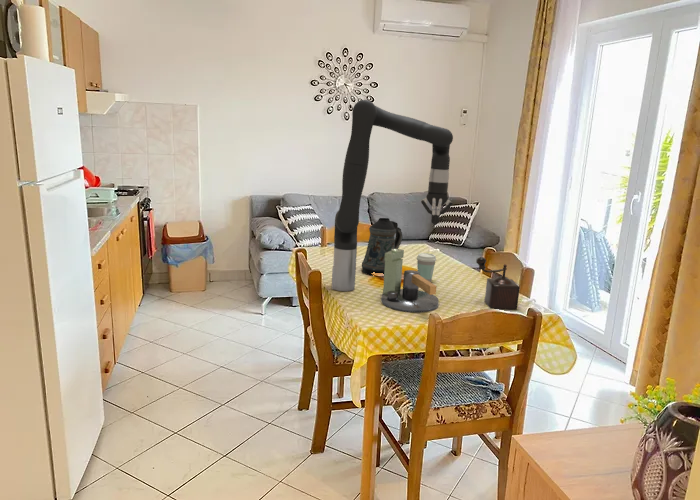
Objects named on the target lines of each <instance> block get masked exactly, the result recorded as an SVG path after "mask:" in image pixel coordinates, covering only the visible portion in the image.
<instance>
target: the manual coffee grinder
mask: <svg viewBox="0 0 700 500" xmlns="http://www.w3.org/2000/svg"><path fill="white" fill-rule="evenodd" d="M475 263H476V264H477V265H478V270H481V271H482V272H484V273H489V274H490V273H500V272H502V274H499V276H497V277H492V278H491V277H487V278H486V286H485V295H484V303H485V304H486V305H487V307H489V308H490V309H491V308H494V309H493V310H510V311H511V310H513V311H514V310H516V311H517V310H518V306H519V305H518V303H519V298H520V297H519V296H520V286H519V285H518V284H517V282H515V281H514V280H513V278H508V276H507V277H506V271H507V266H508V265H507V264H505V263H504V264H503V267H502V268H500V269H492V270H488V269H486V268H487V267H486V265H485V264H486V263H487V259H486V257H483V256H481V257H480V256H479V257H477V258H476V262H475Z"/></svg>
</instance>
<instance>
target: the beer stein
mask: <svg viewBox="0 0 700 500" xmlns="http://www.w3.org/2000/svg"><path fill="white" fill-rule="evenodd" d="M368 230H369V236H368V237H369V238H368V242H367V247H366V251H365V255H364V258H363V260H362V262H361V269H362V273H363V274H364V275H366V276H367V275H368V276H371V277H374V276H373V275H372V274H371V273H373V272H375V273H383V274H384V271H385V261H384V260H385V253H387V252H390V251H392V249H400V246H401V245H402V241H403V232H402V229H401V228H400V227H398V223H397V222H396V221H394V220H390V218H388V217H379V218H378V220H377V221H375V222H374V223H373V224H371V225H370V226H369V228H368Z"/></svg>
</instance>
